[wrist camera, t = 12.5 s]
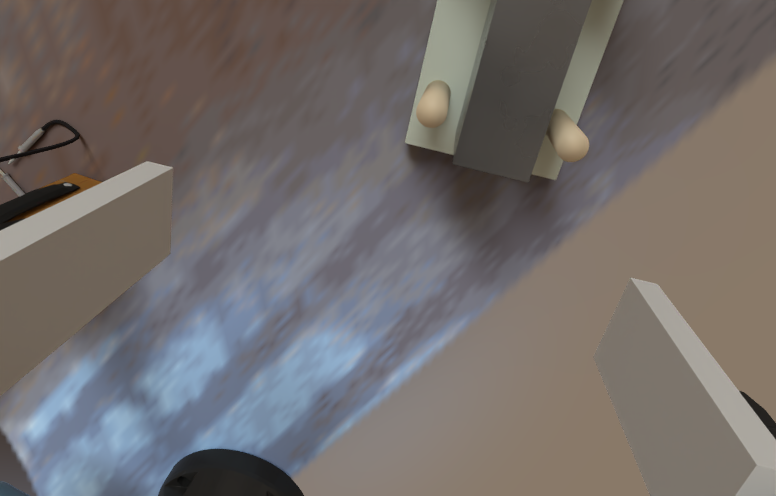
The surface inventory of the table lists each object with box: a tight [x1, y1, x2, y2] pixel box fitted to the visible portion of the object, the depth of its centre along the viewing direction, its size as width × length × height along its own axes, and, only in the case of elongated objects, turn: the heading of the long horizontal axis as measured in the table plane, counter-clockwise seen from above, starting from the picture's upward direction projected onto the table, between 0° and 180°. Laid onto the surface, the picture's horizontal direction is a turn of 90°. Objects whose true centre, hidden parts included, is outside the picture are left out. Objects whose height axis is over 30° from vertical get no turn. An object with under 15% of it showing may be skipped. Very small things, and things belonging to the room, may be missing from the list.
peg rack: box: [405, 0, 624, 180], centre depth 28 cm, size 17×10×8 cm, turn 168°
